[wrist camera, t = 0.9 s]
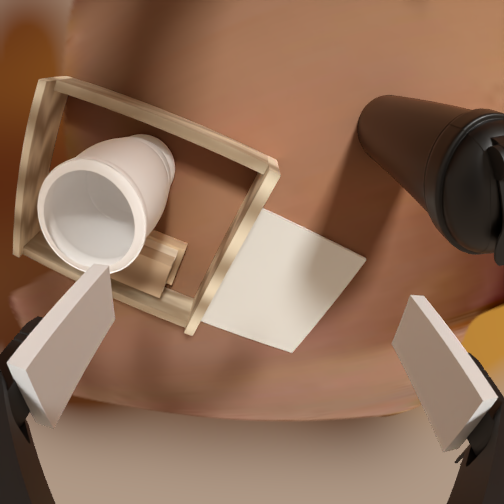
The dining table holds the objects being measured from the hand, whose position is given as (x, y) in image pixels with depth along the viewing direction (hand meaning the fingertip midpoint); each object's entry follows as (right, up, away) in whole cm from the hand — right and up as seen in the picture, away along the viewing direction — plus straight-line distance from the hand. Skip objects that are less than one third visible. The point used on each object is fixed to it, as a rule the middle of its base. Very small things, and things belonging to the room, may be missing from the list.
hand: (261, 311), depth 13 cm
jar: (-13, +13, +23) cm, 30 cm away
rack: (-15, +9, +25) cm, 31 cm away
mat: (+3, -3, +32) cm, 32 cm away
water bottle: (+16, +17, +20) cm, 31 cm away
